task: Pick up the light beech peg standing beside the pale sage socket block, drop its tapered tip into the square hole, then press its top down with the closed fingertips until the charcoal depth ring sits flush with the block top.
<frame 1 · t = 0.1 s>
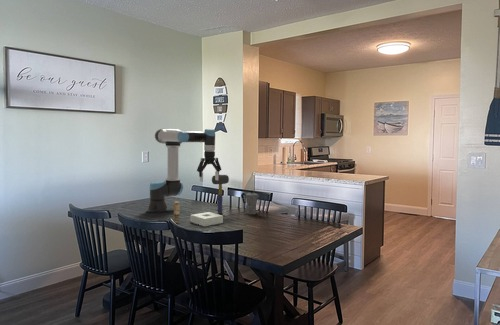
hand: (209, 180, 263), 28 cm above the table, tool pointing down, fingers open, 13 cm apart
coffeepot: (249, 213, 290), on the table
beech peg: (176, 222, 255), on the table
rubber mallet: (219, 213, 289), on the table
socket block: (206, 222, 256), on the table
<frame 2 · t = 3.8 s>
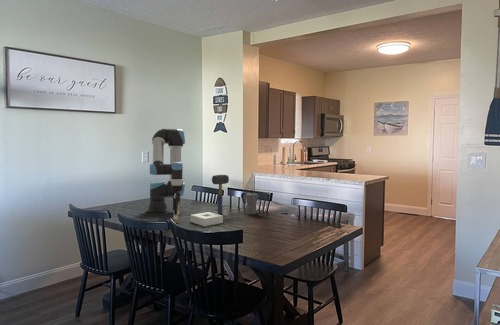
hand: (176, 218, 254), 3 cm above the table, tool pointing down, fingers closed on beech peg, 4 cm apart
beech peg: (176, 222, 255), on the table, touching gripper
everything else where it was.
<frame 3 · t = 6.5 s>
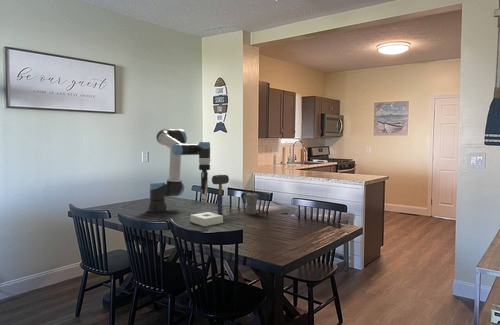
hand: (204, 197, 254), 17 cm above the table, tool pointing down, fingers closed on beech peg, 4 cm apart
beech peg: (204, 201, 255), point 15 cm above the table, touching gripper
everything else where it was.
when the fingers open (7 cm above the table, at t = 9.2 s): beech peg drops 4 cm, resting in socket block.
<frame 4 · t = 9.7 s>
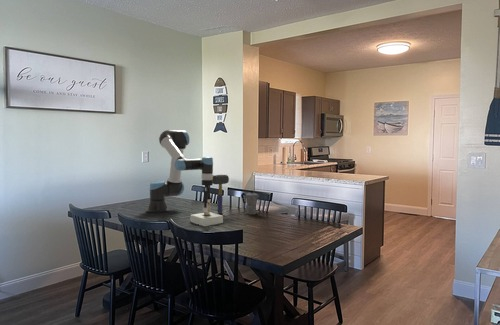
hand: (206, 210, 256), 8 cm above the table, tool pointing down, fingers open, 12 cm apart
beech peg: (206, 222, 256), resting in socket block
everything else where it was.
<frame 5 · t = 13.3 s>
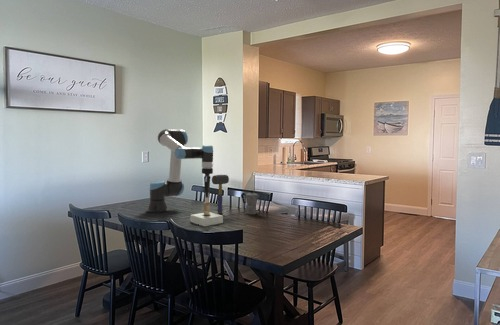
hand: (206, 201, 255), 14 cm above the table, tool pointing down, fingers closed
nothing on the table moved.
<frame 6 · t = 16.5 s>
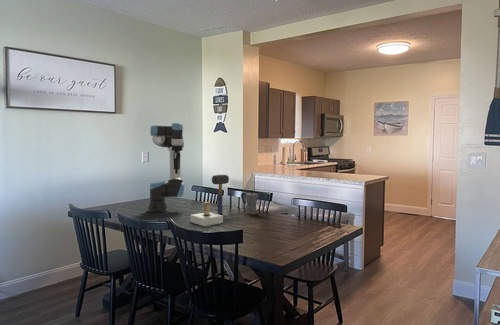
hand: (176, 178, 262), 29 cm above the table, tool pointing down, fingers closed
nothing on the table moved.
at the end: beech peg 0.1 cm off-centre on the socket block, point 0.0 cm above the socket block's base; beech peg tilted 0°; the gripper is holding nothing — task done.
